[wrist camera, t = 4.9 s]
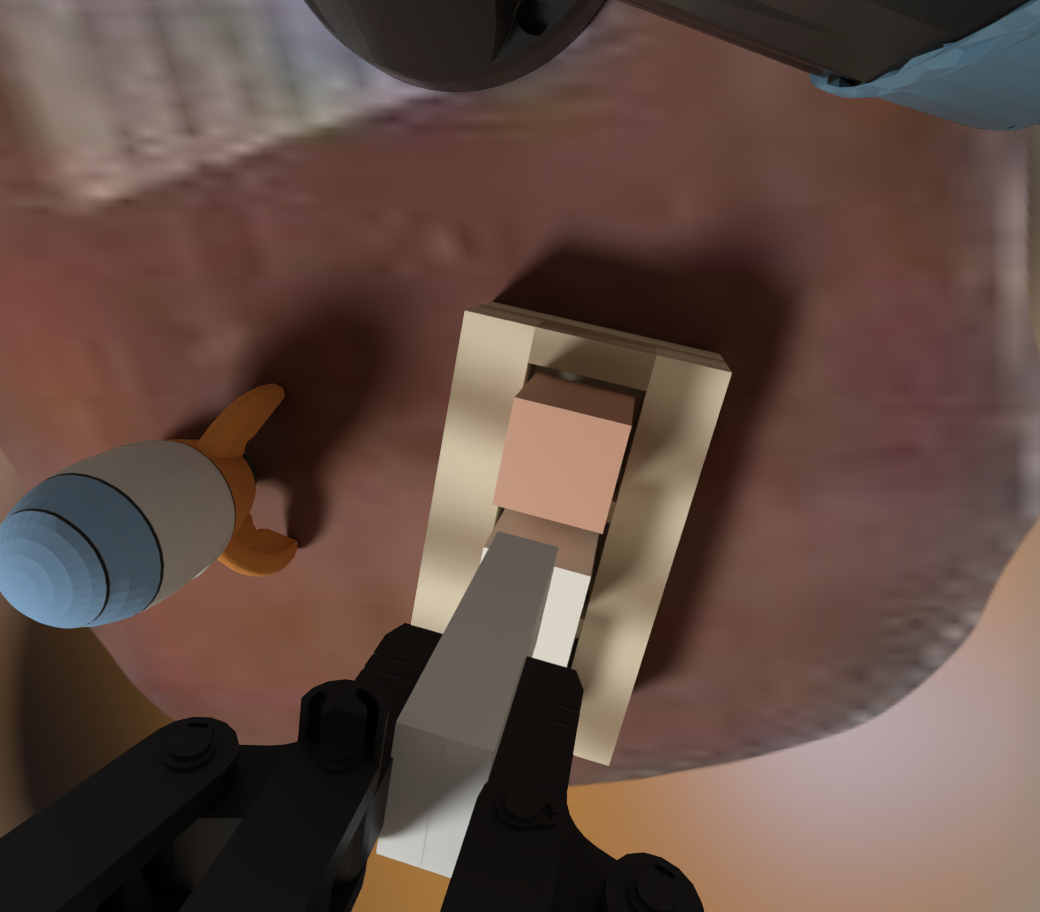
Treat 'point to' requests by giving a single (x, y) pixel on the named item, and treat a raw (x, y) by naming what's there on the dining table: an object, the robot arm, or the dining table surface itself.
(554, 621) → the key ivory
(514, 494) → the key terracotta
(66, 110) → the dining table surface
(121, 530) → the toy rocket
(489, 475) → the beige cube tray
